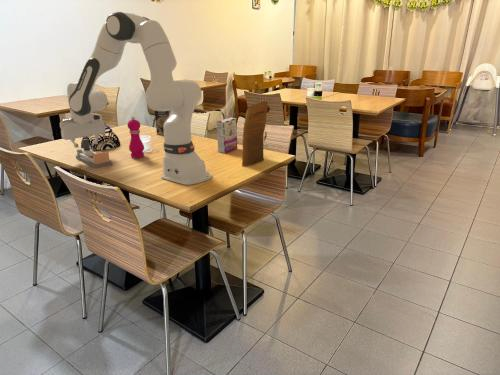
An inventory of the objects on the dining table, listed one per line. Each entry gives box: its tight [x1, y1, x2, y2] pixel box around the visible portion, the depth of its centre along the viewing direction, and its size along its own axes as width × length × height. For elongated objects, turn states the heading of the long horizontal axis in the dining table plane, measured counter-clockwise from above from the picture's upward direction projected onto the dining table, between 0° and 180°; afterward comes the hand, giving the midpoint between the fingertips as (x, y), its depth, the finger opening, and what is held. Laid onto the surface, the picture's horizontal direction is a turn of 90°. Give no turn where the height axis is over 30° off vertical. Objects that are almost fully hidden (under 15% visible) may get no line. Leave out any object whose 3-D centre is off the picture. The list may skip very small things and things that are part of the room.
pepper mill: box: [127, 116, 145, 159], centre depth 187 cm, size 7×7×20 cm
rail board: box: [75, 147, 113, 169], centre depth 182 cm, size 22×8×6 cm, turn 45°
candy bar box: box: [216, 117, 238, 154], centre depth 197 cm, size 11×5×16 cm, turn 146°
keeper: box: [80, 138, 94, 157], centre depth 185 cm, size 5×4×8 cm
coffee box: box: [154, 110, 171, 136], centre depth 233 cm, size 9×6×16 cm
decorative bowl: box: [80, 122, 121, 152], centre depth 207 cm, size 20×20×14 cm
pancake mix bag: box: [241, 100, 269, 167], centre depth 175 cm, size 7×19×28 cm, turn 143°
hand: (86, 145), depth 185 cm, fingers open, 8 cm apart
